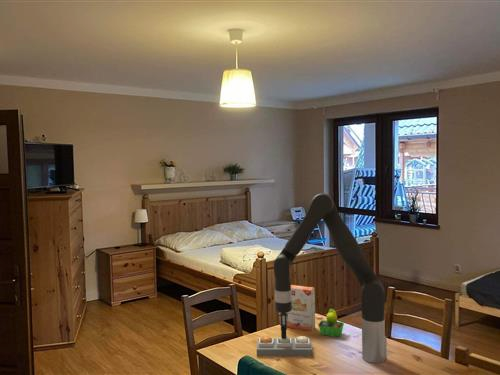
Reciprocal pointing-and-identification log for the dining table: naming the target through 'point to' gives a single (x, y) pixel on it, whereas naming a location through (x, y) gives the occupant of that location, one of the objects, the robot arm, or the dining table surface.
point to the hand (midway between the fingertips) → (283, 338)
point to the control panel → (284, 348)
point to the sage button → (284, 340)
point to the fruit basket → (331, 325)
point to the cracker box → (302, 308)
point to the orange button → (265, 339)
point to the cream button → (301, 339)
